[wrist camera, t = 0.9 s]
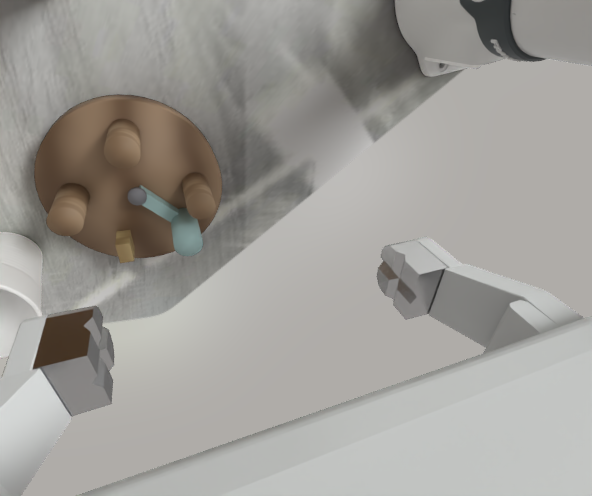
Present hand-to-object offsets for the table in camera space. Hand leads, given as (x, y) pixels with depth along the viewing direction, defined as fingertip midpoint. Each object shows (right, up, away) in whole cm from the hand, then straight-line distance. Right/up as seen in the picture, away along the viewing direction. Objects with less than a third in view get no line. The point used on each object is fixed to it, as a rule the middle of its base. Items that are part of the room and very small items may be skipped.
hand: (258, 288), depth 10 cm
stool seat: (-17, +9, +29) cm, 35 cm away
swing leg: (-14, +6, +29) cm, 33 cm away
